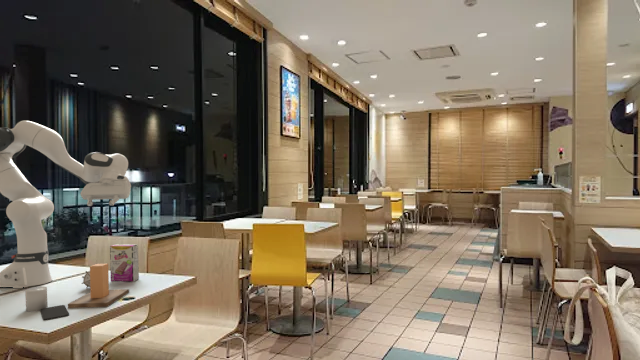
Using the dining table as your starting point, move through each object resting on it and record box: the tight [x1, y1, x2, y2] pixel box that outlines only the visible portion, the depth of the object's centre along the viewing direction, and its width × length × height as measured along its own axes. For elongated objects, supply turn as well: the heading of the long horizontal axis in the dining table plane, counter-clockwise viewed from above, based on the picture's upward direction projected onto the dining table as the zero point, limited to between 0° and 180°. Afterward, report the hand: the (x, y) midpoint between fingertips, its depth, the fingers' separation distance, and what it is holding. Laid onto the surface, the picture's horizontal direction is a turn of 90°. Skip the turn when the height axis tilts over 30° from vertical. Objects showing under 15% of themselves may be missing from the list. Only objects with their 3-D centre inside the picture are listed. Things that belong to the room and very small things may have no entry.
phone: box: [40, 304, 70, 321], centre depth 142 cm, size 7×1×15 cm
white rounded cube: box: [25, 285, 49, 313], centre depth 146 cm, size 6×6×7 cm
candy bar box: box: [109, 243, 140, 283], centre depth 186 cm, size 11×5×16 cm, turn 84°
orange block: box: [89, 263, 110, 298], centre depth 156 cm, size 5×5×12 cm
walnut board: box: [67, 288, 130, 309], centre depth 156 cm, size 14×18×2 cm
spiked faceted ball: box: [81, 270, 90, 289], centre depth 174 cm, size 9×8×10 cm
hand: (100, 204), depth 177 cm, fingers open, 8 cm apart
